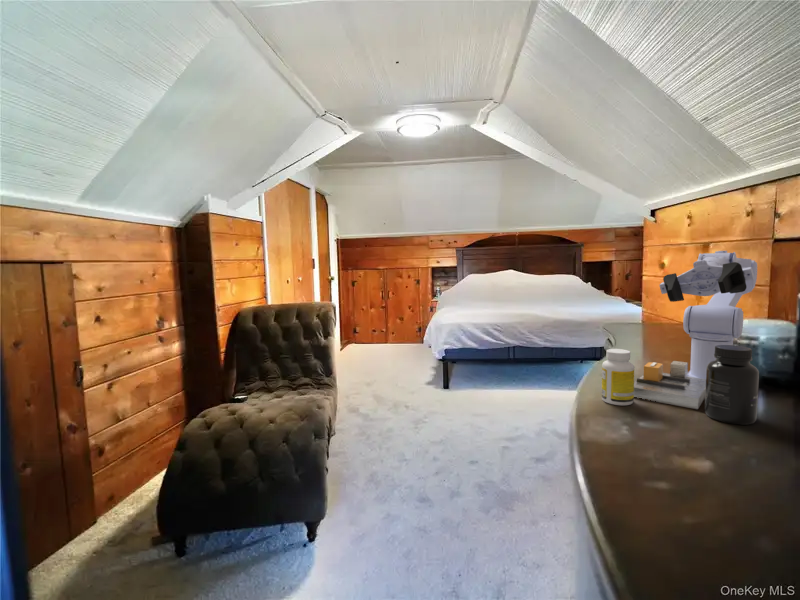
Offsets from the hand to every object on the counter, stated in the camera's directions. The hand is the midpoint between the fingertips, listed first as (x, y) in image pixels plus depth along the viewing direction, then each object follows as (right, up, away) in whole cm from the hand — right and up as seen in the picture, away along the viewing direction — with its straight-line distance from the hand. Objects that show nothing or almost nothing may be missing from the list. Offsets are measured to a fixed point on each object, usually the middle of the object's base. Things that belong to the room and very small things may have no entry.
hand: (695, 291), depth 73 cm
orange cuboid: (-1, -18, +10) cm, 20 cm away
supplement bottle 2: (+3, -21, -4) cm, 22 cm away
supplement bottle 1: (-11, -21, +5) cm, 24 cm away
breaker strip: (+1, -20, +8) cm, 22 cm away
